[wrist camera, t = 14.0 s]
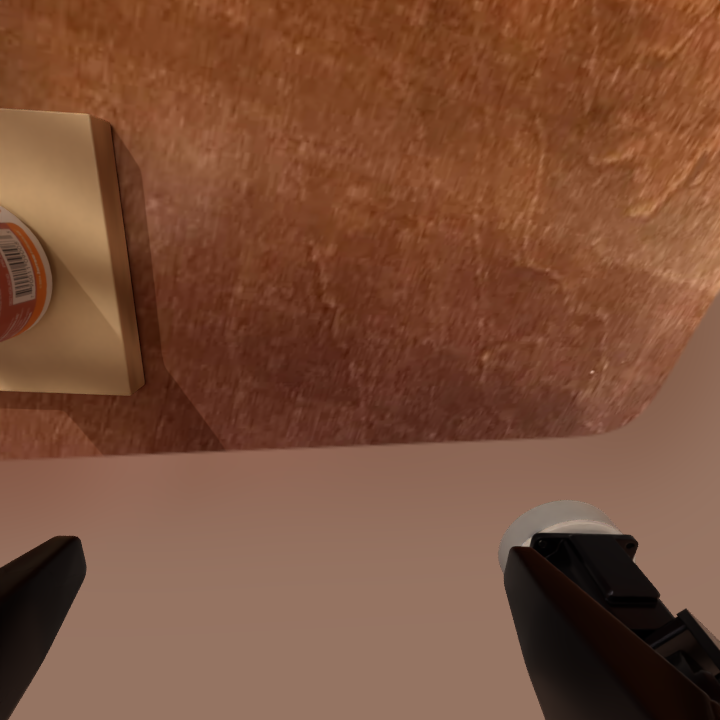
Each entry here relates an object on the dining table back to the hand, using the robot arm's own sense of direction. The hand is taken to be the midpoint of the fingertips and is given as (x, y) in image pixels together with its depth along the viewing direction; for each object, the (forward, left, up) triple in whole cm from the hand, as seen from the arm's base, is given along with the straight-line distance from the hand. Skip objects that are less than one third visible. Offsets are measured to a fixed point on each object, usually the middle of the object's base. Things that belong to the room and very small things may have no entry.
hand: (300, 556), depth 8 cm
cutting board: (+4, +15, -13) cm, 20 cm away
